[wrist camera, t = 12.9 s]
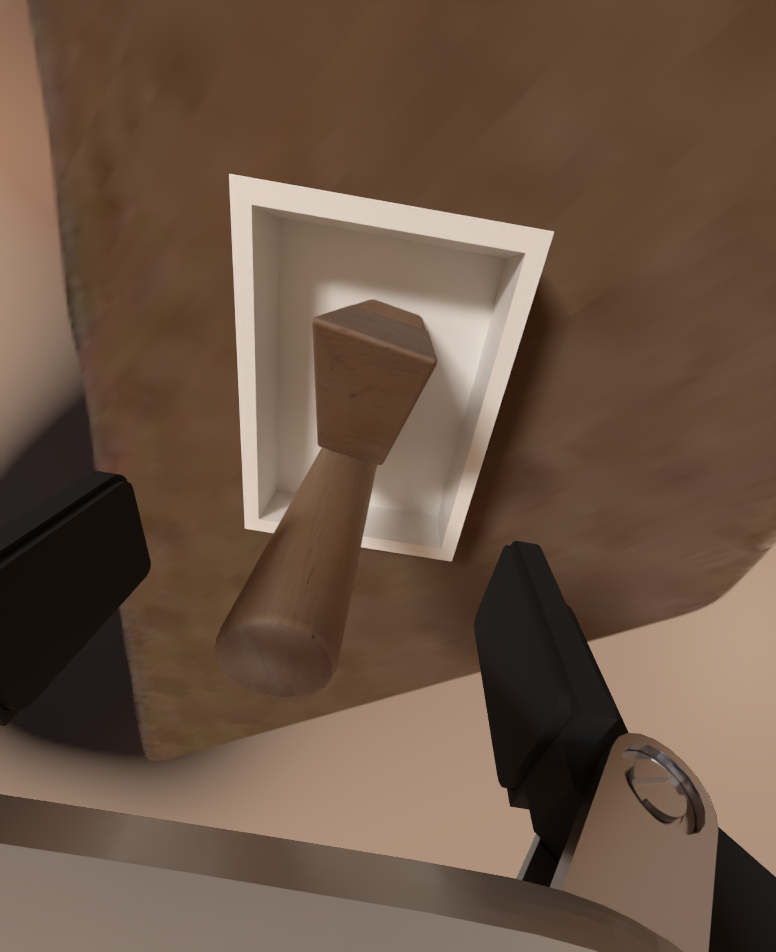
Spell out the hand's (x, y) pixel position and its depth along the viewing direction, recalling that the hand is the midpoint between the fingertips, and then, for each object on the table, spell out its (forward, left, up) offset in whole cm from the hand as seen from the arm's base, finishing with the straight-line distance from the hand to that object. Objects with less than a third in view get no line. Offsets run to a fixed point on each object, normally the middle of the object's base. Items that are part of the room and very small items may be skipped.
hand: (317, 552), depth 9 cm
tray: (+1, 0, -18) cm, 18 cm away
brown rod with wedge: (0, 0, -17) cm, 17 cm away
